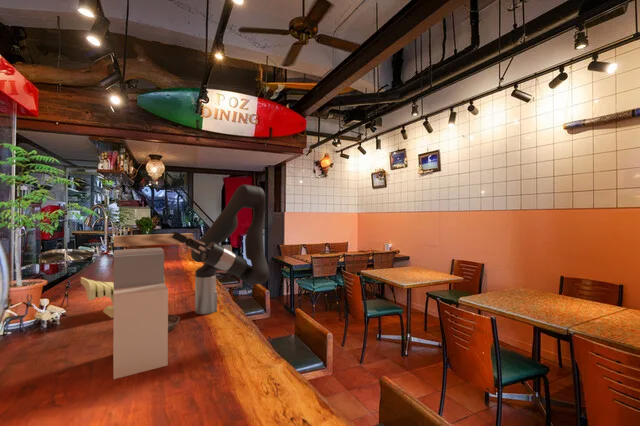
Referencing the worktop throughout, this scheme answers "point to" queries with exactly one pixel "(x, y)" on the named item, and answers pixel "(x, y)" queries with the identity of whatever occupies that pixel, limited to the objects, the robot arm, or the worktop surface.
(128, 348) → the stepped stand
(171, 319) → the plant saucer
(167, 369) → the worktop surface
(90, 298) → the slatted curved stool
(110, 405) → the worktop surface
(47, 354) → the worktop surface
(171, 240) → the maple bar
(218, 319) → the worktop surface
